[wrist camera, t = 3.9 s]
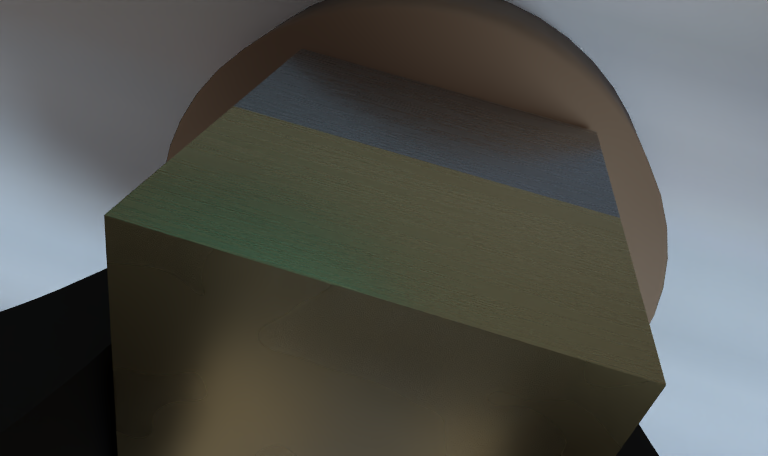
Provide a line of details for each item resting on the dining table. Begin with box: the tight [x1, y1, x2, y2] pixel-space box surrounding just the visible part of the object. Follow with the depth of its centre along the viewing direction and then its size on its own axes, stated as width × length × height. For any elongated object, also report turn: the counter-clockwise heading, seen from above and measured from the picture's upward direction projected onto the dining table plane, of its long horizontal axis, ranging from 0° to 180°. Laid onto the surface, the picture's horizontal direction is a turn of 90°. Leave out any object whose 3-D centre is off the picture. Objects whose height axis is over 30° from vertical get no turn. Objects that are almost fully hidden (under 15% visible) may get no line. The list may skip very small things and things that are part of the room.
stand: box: [166, 0, 668, 324], centre depth 12 cm, size 9×9×2 cm
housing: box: [104, 49, 666, 456], centre depth 9 cm, size 7×4×5 cm, turn 168°
